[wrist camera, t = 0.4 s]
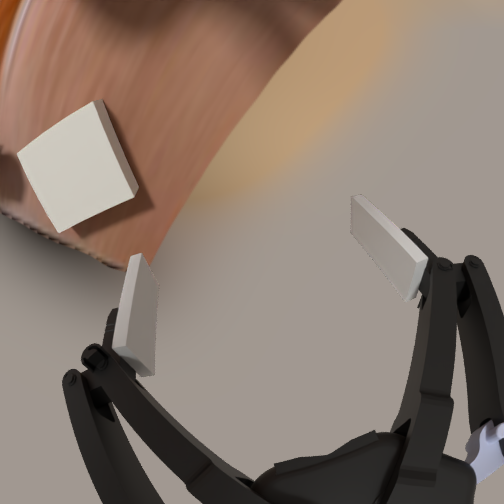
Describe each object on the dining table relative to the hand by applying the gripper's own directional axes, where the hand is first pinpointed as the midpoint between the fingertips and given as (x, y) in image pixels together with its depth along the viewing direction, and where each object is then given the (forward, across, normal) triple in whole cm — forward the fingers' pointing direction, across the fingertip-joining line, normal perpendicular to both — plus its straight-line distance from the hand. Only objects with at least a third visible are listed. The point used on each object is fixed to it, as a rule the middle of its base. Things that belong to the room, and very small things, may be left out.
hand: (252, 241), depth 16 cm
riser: (+28, -22, +4) cm, 36 cm away
